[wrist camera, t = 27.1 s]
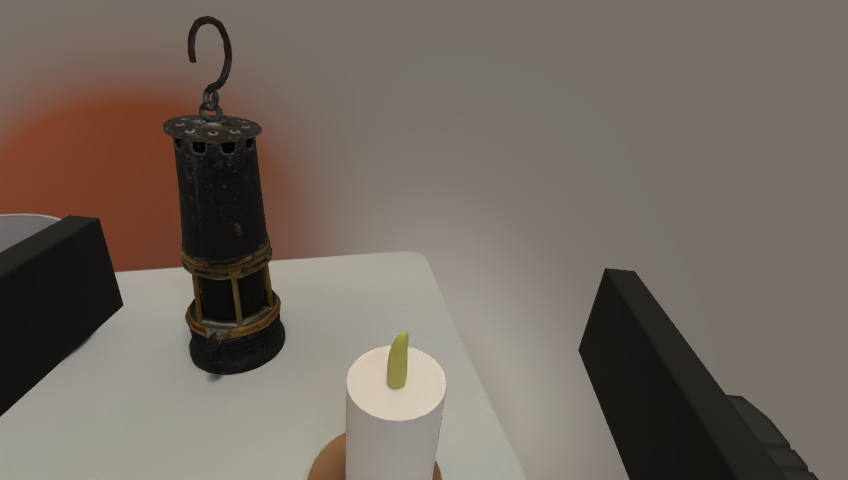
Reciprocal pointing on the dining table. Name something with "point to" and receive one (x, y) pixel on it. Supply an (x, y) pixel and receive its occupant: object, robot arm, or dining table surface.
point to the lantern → (224, 233)
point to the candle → (393, 413)
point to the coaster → (339, 462)
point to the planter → (21, 227)
